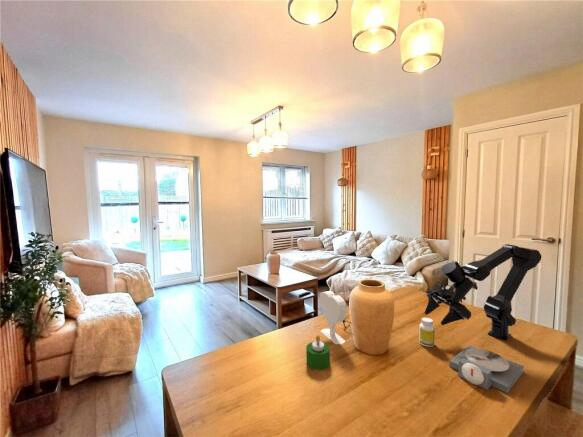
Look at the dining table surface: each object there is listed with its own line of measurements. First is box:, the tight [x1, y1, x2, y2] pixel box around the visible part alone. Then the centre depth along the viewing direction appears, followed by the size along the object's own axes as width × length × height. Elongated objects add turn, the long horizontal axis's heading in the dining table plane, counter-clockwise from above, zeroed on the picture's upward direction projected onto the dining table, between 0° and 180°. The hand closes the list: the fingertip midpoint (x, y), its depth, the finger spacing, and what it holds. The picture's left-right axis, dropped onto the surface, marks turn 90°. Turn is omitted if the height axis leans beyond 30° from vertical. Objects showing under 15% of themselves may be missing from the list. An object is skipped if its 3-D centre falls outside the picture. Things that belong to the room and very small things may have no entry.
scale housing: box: [449, 344, 525, 394], centre depth 89 cm, size 20×16×6 cm
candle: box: [305, 335, 331, 371], centre depth 95 cm, size 8×8×10 cm
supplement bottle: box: [418, 317, 436, 348], centre depth 106 cm, size 5×5×10 cm
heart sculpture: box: [319, 290, 348, 345], centre depth 113 cm, size 16×5×18 cm, turn 24°
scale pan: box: [465, 348, 509, 372], centre depth 90 cm, size 12×12×1 cm
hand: (433, 318), depth 106 cm, fingers open, 9 cm apart
